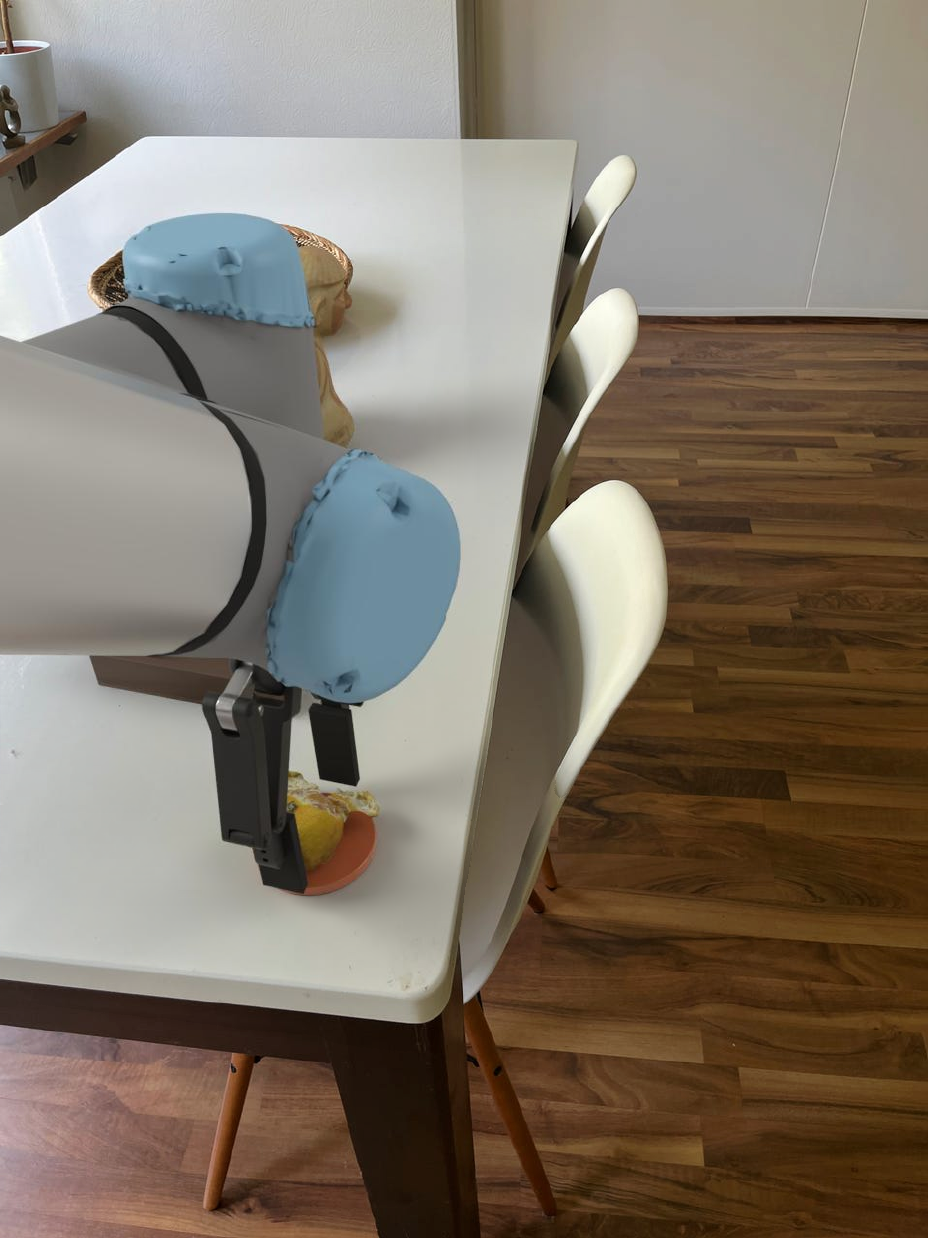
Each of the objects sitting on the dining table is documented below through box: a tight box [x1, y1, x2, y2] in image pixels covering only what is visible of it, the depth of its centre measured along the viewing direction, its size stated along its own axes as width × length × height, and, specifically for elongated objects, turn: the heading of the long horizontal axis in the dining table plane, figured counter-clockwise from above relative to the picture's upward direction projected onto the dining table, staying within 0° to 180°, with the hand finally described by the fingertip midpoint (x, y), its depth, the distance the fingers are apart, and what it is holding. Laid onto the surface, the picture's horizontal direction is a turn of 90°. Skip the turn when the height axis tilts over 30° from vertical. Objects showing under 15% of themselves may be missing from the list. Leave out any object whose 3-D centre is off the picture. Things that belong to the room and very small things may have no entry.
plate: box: [256, 792, 378, 896], centre depth 65 cm, size 8×8×1 cm
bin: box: [88, 655, 284, 705], centre depth 86 cm, size 25×16×3 cm, turn 164°
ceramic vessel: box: [298, 245, 355, 448], centre depth 103 cm, size 17×20×25 cm
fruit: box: [286, 770, 381, 871], centre depth 64 cm, size 8×8×4 cm
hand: (314, 829), depth 65 cm, fingers closed on fruit, 8 cm apart
